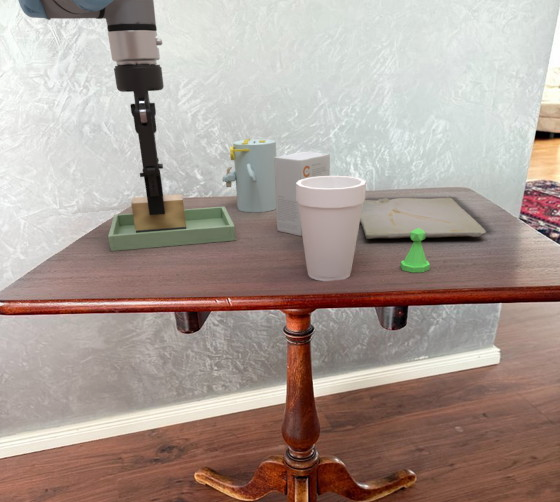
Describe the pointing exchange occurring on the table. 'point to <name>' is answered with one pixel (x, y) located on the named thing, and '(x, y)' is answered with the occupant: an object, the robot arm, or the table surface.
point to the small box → (286, 178)
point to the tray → (199, 229)
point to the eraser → (162, 222)
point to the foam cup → (330, 223)
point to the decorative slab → (417, 218)
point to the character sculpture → (253, 174)
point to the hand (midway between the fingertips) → (157, 210)
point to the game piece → (416, 254)
